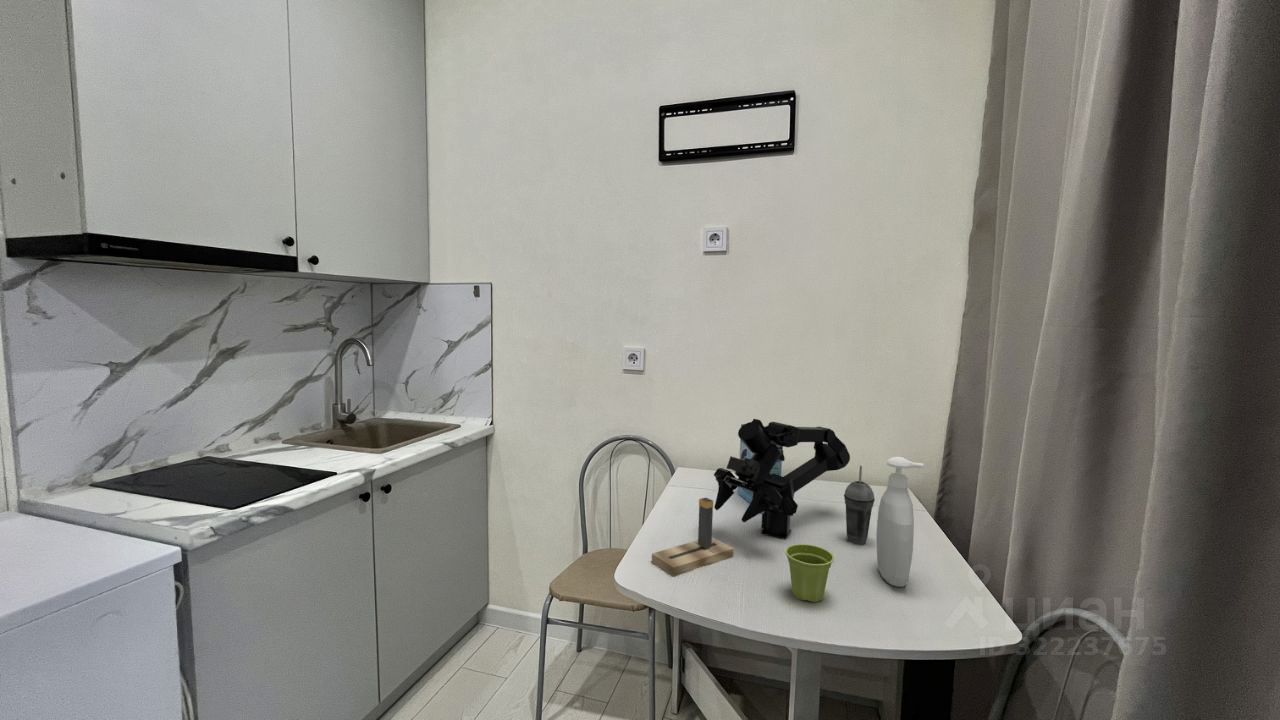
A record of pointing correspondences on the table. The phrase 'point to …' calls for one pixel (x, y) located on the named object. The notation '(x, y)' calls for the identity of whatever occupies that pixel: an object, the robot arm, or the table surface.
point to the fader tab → (705, 522)
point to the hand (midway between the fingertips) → (728, 515)
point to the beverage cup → (858, 510)
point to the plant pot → (809, 570)
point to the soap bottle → (896, 526)
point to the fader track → (690, 556)
